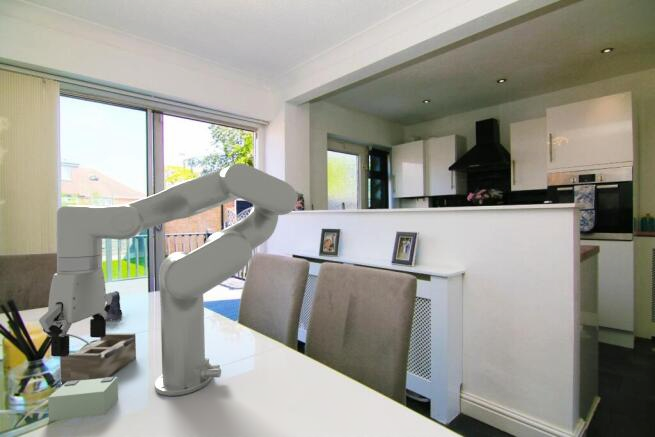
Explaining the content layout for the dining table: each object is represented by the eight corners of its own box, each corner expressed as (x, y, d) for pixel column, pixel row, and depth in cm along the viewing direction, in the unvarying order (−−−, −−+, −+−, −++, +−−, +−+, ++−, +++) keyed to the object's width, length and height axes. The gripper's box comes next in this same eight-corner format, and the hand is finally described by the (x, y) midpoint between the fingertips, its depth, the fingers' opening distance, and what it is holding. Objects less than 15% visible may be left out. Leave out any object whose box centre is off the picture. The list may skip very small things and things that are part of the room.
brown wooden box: (103, 358, 92) (102, 333, 92) (139, 358, 91) (139, 333, 91) (60, 384, 78) (60, 355, 78) (103, 384, 77) (102, 355, 77)
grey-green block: (118, 399, 72) (117, 375, 72) (104, 415, 66) (103, 390, 66) (67, 404, 70) (66, 380, 70) (48, 422, 64) (48, 396, 64)
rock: (121, 320, 125) (120, 293, 125) (104, 323, 122) (103, 296, 122) (122, 313, 134) (121, 289, 134) (106, 316, 131) (105, 290, 131)
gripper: (94, 258, 76) (94, 330, 76) (22, 271, 59) (22, 364, 59) (125, 259, 76) (125, 331, 76) (61, 271, 58) (62, 365, 58)
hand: (80, 345), depth 67 cm, fingers open, 9 cm apart
